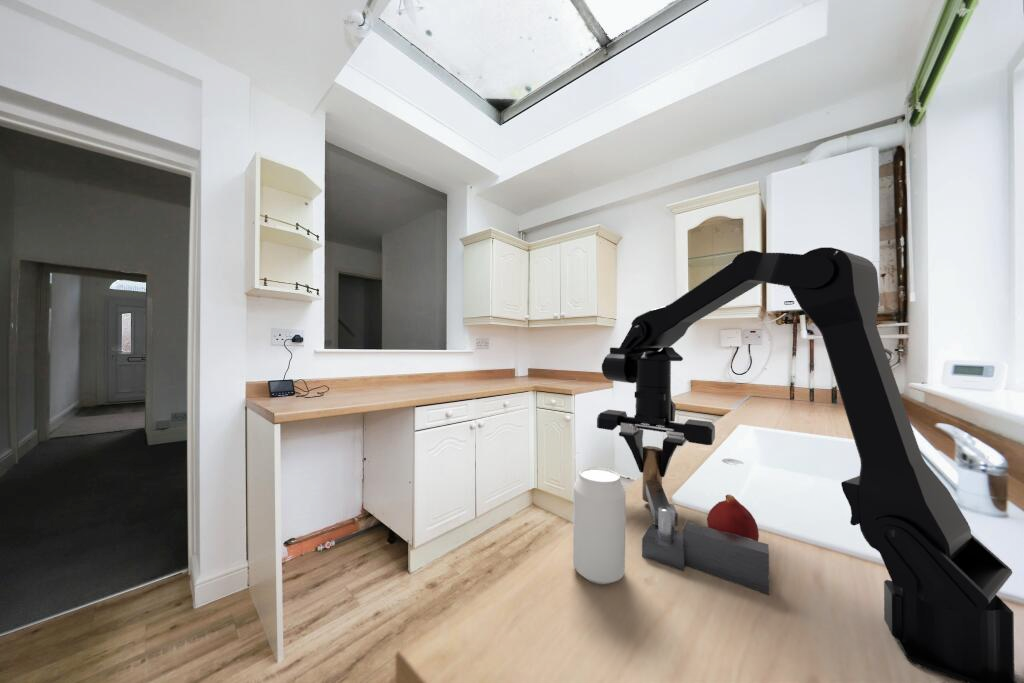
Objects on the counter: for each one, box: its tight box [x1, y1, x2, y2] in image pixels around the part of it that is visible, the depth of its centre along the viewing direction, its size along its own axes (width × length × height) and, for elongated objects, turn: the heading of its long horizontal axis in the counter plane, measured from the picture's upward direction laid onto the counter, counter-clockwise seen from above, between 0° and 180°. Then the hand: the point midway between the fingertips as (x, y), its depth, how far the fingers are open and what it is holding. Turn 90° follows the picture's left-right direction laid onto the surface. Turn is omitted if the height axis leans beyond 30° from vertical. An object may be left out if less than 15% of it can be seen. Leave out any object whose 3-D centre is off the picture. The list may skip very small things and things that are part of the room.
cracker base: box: [641, 506, 770, 596], centre depth 43 cm, size 14×5×6 cm, turn 54°
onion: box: [706, 494, 760, 542], centre depth 46 cm, size 6×6×8 cm
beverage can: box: [572, 467, 627, 585], centre depth 42 cm, size 6×6×12 cm
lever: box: [641, 445, 678, 527], centre depth 55 cm, size 14×3×9 cm, turn 164°
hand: (652, 474), depth 60 cm, fingers closed on lever, 3 cm apart
